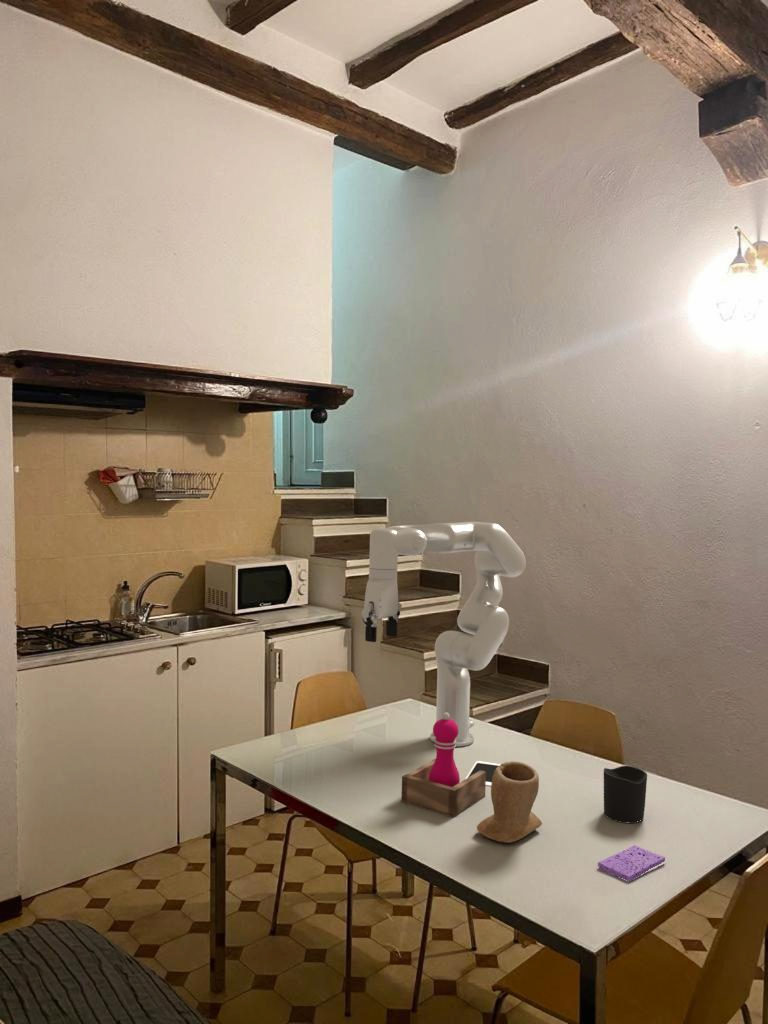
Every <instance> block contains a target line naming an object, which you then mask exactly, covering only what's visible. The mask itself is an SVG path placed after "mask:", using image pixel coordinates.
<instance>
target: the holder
mask: <svg viewBox="0 0 768 1024" xmlns="http://www.w3.org/2000/svg"><path fill="white" fill-rule="evenodd" d="M435 759H436V758H434V759H432V760H431V761H428V762H426V763H425V764H423V765H421V766H418V767H417V768H415V769H413V770H412V771H409V772H408V773H406V774H404V775H402V776H401V800H400V801H401V803H403V804H407V805H410V806H413V807H418V808H421V809H425V810H428V811H431V812H434V813H438V814H441V815H444V816H447V817H452V818H455V817H457V816H459V815H460V814H462V813H463V812H464V811H466V810H468V809H469V808H470V807H472V806H473V805H475V804H477V803H478V802H480V801H481V800H482V799H484V798H485V797H486V786H485V784H486V772H485V771H481V770H480V771H478V772H477V773H475V774H473V775H472V776H470V777H468V778H467V779H463V780H462V781H460V782H459V783H458V784H457V785H455V786H453V787H450V786H446V785H442V784H439V783H435V782H431V781H429V774H430V771H431V768H432V766H433V764H434V762H435Z"/></svg>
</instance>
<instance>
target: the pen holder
mask: <svg viewBox="0 0 768 1024" xmlns="http://www.w3.org/2000/svg"><path fill="white" fill-rule="evenodd" d="M647 783H648V773H647V772H646V771H644V770H643V769H641V768H638V767H635V766H630V765H621V766H619V767H614V768H607V767H605V768H603V813H604V814H605V816H606V815H607V816H608V817H609V818H608V817H607V816H606V817H607V818H608V819H610V818H611V819H610V820H612V819H613V821H614V820H617V821H616V822H618V821H621V822H620V823H622V822H637V821H640V820H641V821H643V820H644V817H645V808H646V797H647V795H646V794H647ZM641 821H640V822H641ZM637 823H638V822H637Z"/></svg>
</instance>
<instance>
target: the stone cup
mask: <svg viewBox="0 0 768 1024" xmlns="http://www.w3.org/2000/svg"><path fill="white" fill-rule="evenodd" d="M500 764H501V765H499V766H498V767H497V768H496V770H495V771H494V774H493V777H492V784H491V786H490V796H491V797H490V799H491V803H492V808H493V814H492V815H490V816H487V817H486V818H485V819H483V820H481V821H480V822H479V823H478V824H477V825H476V829H477V832H478V833H480V834H481V835H482V836H484V837H486V838H488V839H489V840H493V841H496V842H500V843H506V844H510V843H511V844H512V843H513V842H517V841H519V840H521V839H523V838H525V837H526V836H527V835H530V834H531V833H532V832H534V831H535V830H537V829H539V828H540V827H541V826H542V825H543V822H542V821H541V819H540V818H539V817H538V816H537V815H536V814H535V813H534V812H533V811H532V808H533V806H534V803H535V801H536V798H537V796H538V794H539V793H538V792H539V788H540V787H539V786H540V783H539V782H540V777H539V773H538V772H537V770H536V769H535V768H534V767H533V766H531V765H529V764H528V763H524V762H522V761H505V762H503V763H500Z"/></svg>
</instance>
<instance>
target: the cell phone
mask: <svg viewBox="0 0 768 1024" xmlns="http://www.w3.org/2000/svg"><path fill="white" fill-rule="evenodd" d="M501 764H502V763H494V762H488V761H480V760H476V761H475V763H474V764H473V766H472V767H471V769H470V770H469V772H468V774H467V775H466V777H465V779H467V778H468V777H470V776H472V775H473V774H475V773H477V772H478V771H480V770H481V771H485V772H486V784H485V787H491V784H492V777H493V774H494V771H495V770H496V768H497V767H498V766H499V765H501ZM465 779H464V780H465Z"/></svg>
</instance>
